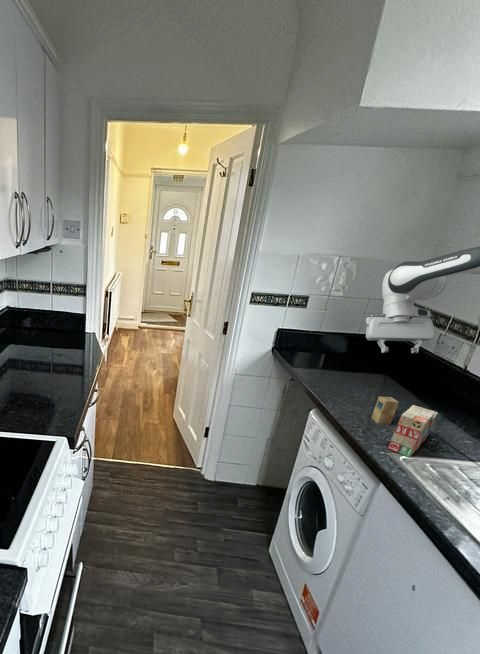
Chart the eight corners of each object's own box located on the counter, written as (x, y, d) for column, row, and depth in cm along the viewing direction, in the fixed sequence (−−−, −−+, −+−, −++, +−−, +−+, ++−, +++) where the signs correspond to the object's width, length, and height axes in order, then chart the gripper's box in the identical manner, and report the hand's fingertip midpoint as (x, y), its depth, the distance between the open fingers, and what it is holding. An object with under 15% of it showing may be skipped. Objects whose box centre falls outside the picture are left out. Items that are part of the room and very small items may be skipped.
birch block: (383, 419, 150) (391, 397, 147) (390, 425, 146) (399, 402, 143) (370, 418, 151) (378, 396, 147) (377, 424, 147) (385, 401, 143)
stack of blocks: (406, 429, 143) (420, 397, 138) (427, 437, 139) (443, 404, 134) (386, 448, 130) (401, 414, 125) (409, 457, 126) (426, 422, 120)
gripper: (370, 311, 144) (371, 349, 142) (436, 311, 141) (438, 350, 139) (361, 317, 150) (362, 354, 148) (424, 317, 147) (426, 355, 145)
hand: (399, 352), depth 143 cm, fingers open, 8 cm apart
